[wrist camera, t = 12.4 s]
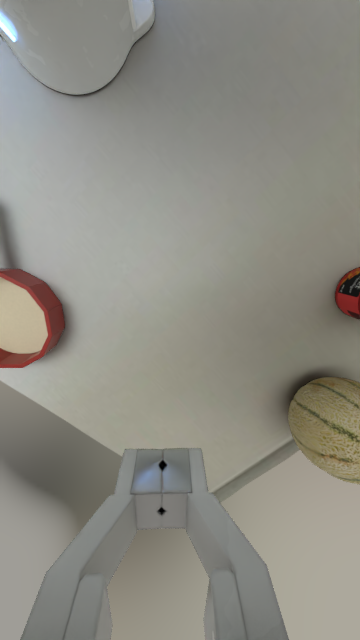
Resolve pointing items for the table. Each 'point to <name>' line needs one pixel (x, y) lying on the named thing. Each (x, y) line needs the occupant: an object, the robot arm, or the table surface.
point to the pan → (27, 318)
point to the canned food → (349, 293)
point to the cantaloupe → (329, 425)
